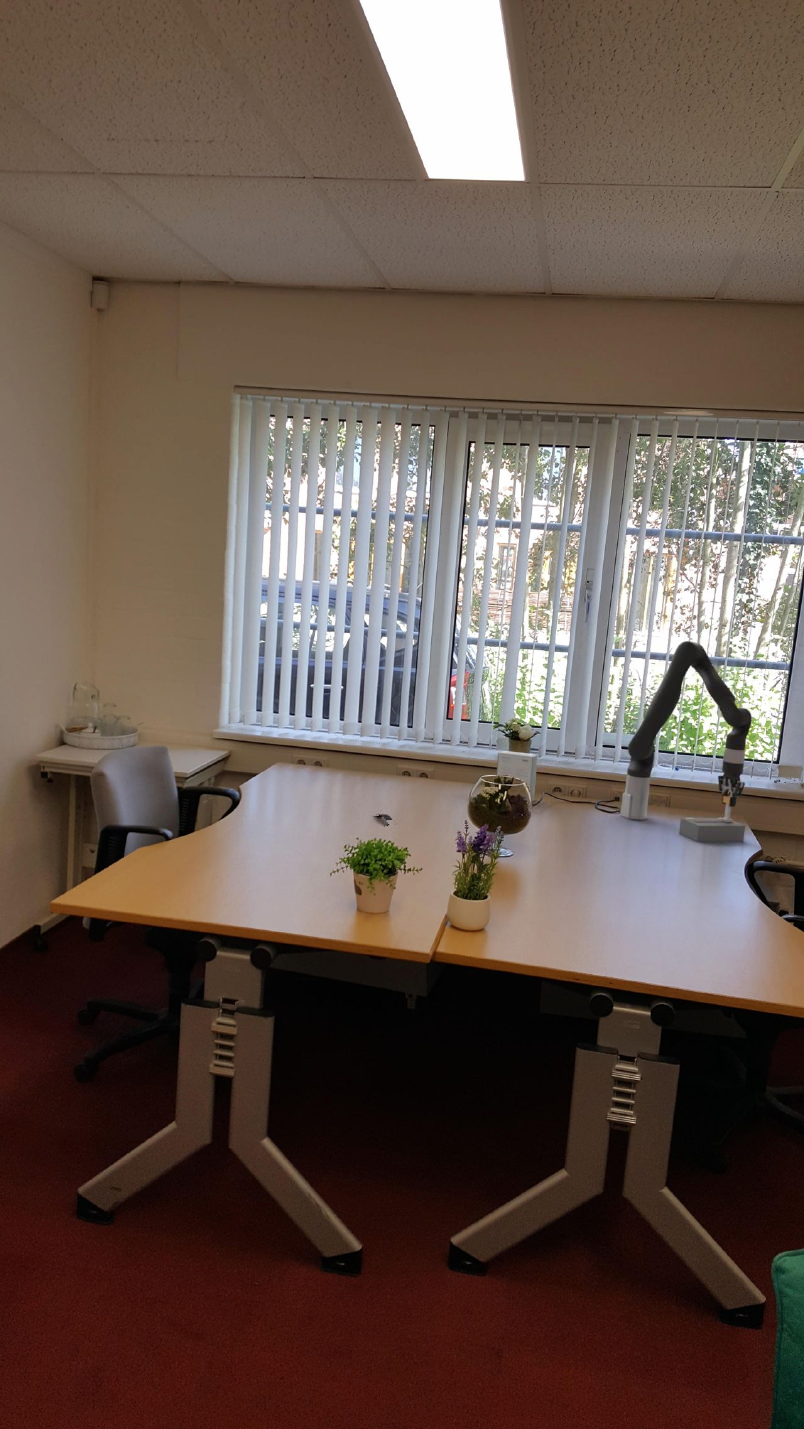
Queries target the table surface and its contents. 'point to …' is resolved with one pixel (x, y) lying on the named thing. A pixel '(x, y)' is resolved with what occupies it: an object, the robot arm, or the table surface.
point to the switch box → (711, 830)
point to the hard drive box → (518, 767)
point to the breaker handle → (727, 809)
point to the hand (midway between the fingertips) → (728, 804)
